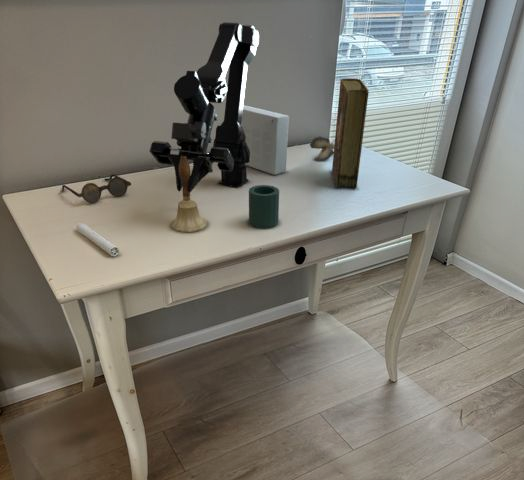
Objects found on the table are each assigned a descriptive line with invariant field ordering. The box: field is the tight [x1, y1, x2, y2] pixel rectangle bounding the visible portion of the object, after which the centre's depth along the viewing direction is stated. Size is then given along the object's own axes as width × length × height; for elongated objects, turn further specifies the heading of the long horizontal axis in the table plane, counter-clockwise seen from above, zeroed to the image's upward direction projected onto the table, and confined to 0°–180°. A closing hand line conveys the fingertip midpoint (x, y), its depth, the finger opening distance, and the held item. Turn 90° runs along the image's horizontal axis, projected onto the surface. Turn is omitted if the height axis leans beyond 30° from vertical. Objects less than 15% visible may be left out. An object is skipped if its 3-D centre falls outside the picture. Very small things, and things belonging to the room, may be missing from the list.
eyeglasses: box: [61, 173, 132, 204], centre depth 133 cm, size 15×15×5 cm
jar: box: [248, 184, 280, 230], centre depth 117 cm, size 7×7×8 cm
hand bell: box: [171, 156, 208, 233], centre depth 113 cm, size 8×8×16 cm
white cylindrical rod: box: [76, 222, 120, 257], centre depth 110 cm, size 18×2×2 cm, turn 41°
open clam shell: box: [309, 136, 335, 162], centre depth 160 cm, size 8×7×9 cm
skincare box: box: [241, 104, 290, 176], centre depth 149 cm, size 21×6×16 cm, turn 43°
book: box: [331, 78, 370, 189], centre depth 137 cm, size 16×6×25 cm, turn 179°
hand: (183, 191), depth 112 cm, fingers closed on hand bell, 2 cm apart
